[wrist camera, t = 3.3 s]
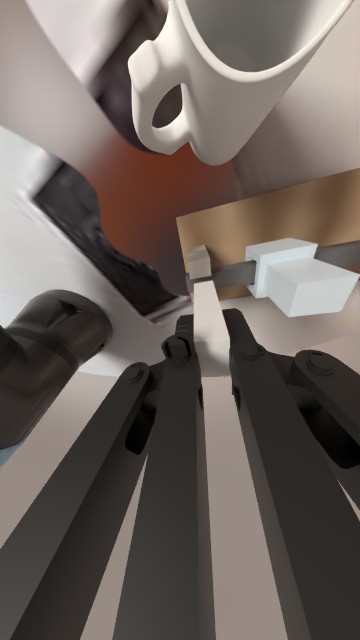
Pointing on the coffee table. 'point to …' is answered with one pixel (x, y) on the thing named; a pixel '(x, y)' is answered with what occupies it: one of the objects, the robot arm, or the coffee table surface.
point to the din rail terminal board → (272, 231)
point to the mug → (224, 69)
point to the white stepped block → (298, 278)
